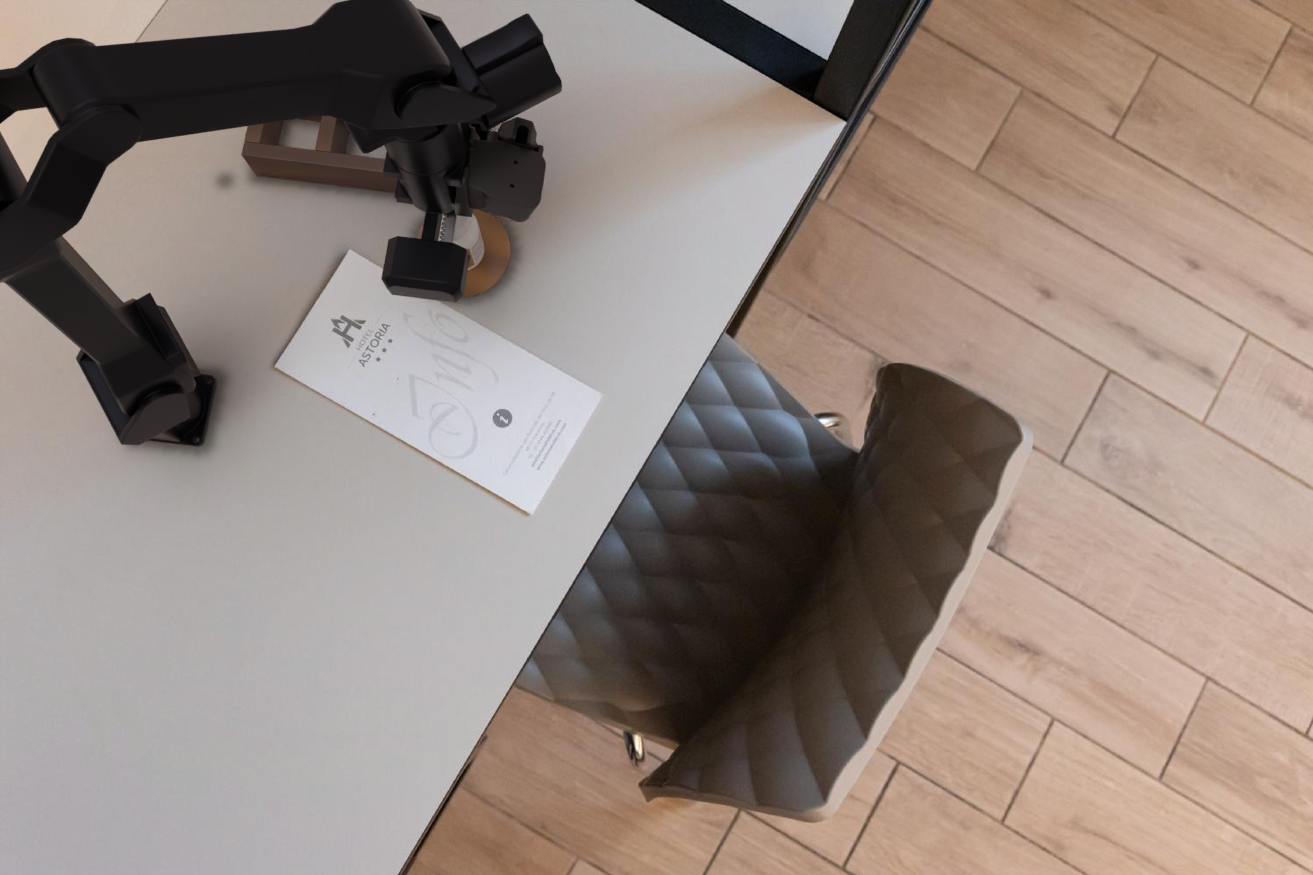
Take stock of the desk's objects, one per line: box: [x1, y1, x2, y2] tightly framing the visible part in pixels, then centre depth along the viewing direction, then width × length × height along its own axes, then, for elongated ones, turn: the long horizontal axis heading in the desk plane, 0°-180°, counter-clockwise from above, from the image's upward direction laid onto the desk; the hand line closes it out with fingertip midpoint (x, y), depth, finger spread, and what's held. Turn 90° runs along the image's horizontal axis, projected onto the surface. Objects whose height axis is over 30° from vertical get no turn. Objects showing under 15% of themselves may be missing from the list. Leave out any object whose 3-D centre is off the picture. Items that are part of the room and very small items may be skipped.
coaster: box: [415, 209, 512, 298], centre depth 92 cm, size 9×9×1 cm
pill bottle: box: [438, 214, 484, 270], centre depth 88 cm, size 4×4×8 cm
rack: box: [240, 116, 398, 194], centre depth 92 cm, size 8×21×4 cm, turn 84°
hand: (455, 229), depth 87 cm, fingers open, 9 cm apart
